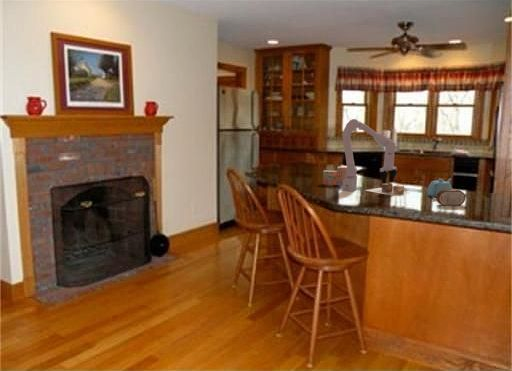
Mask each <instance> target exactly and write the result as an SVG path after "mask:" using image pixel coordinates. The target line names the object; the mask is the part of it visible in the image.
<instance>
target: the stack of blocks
mask: <svg viewBox="0 0 512 371" xmlns="http://www.w3.org/2000/svg"><path fill="white" fill-rule="evenodd" d="M346 169H347V166H337V168H336V170H328V169H327V170H326V169H324V170H323V171H322V172H323V173H322V186H333V185H339V187H343V180H344V179H345V175H346Z"/></svg>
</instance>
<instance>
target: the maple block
mask: <svg viewBox="0 0 512 371" xmlns="http://www.w3.org/2000/svg"><path fill="white" fill-rule="evenodd" d="M392 190H393V193H394V194H399V195H398V196H401V195H400V194H403V195H405V194H404V192H405V186H404V185H398V184H396V185H393V189H392Z"/></svg>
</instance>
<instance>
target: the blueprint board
mask: <svg viewBox="0 0 512 371" xmlns="http://www.w3.org/2000/svg"><path fill="white" fill-rule="evenodd" d="M364 191H366V192H372V193H376V194H377V193H378V194H383V195H388V196H392V197H393V196H394V197H396V196H397V197H398V196H404V195H407V194H410V192H408V191H404V194H400V195H399V194H394V193H393V189H392V192H382V187H377V188H376V187H375V188H370V189H365V190H364Z"/></svg>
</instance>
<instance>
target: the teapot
mask: <svg viewBox="0 0 512 371" xmlns="http://www.w3.org/2000/svg"><path fill="white" fill-rule="evenodd" d="M451 181H452V178H448V179H447V181H445V180H444V179H443V178H438V180H432V181H430V184H429V185H428V188H427V195H428V196H429V197H433V198H436V196H437V194H438V192H440V191H441V190H453V187H452V184H451Z"/></svg>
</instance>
